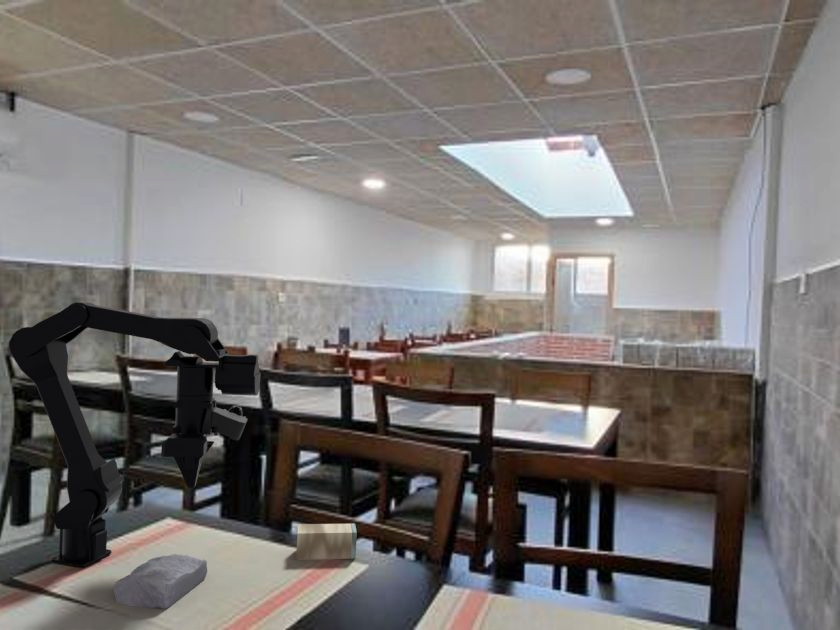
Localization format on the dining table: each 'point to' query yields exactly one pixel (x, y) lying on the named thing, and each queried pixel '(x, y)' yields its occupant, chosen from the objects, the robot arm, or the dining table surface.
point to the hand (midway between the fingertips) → (191, 487)
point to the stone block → (160, 581)
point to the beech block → (326, 541)
